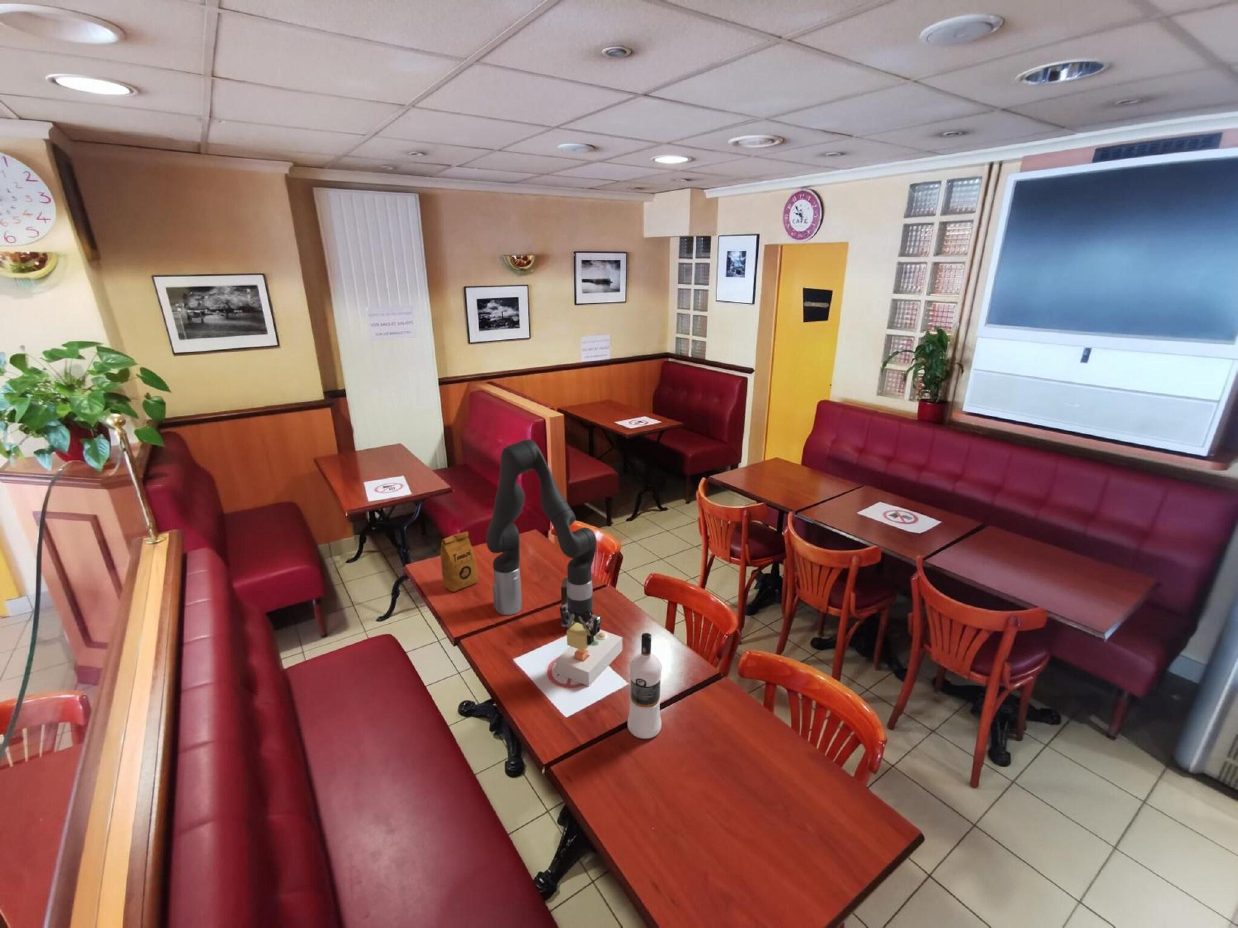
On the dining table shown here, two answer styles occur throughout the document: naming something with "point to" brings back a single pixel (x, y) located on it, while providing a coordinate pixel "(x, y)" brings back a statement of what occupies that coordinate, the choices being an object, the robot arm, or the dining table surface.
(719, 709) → the dining table surface
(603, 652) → the panel
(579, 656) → the button
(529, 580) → the dining table surface
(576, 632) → the cap
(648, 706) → the vodka
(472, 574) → the coffee package
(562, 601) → the coffee box
